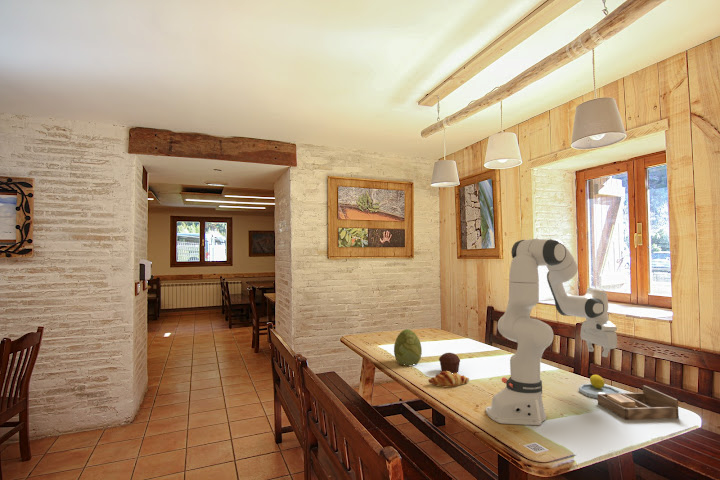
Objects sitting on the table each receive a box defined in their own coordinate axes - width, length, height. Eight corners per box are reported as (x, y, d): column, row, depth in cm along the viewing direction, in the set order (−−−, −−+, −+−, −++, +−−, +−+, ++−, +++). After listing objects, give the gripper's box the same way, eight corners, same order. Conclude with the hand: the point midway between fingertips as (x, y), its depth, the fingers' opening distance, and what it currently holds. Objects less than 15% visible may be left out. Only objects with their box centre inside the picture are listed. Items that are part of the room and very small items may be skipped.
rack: (625, 419, 145) (625, 401, 145) (597, 403, 161) (597, 386, 161) (678, 418, 145) (677, 399, 146) (645, 401, 161) (644, 385, 162)
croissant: (466, 387, 192) (463, 371, 195) (474, 384, 183) (471, 367, 187) (426, 390, 188) (424, 373, 192) (433, 386, 179) (430, 369, 183)
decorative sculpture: (393, 367, 217) (393, 332, 217) (394, 359, 233) (393, 326, 234) (422, 367, 215) (421, 332, 215) (421, 359, 231) (420, 326, 232)
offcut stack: (623, 417, 147) (623, 403, 148) (606, 407, 156) (606, 394, 157) (639, 416, 148) (638, 402, 148) (621, 407, 157) (620, 393, 157)
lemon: (595, 392, 174) (589, 383, 182) (608, 390, 172) (602, 381, 180) (591, 381, 174) (586, 373, 181) (605, 379, 172) (598, 370, 180)
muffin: (449, 367, 214) (449, 349, 215) (464, 372, 205) (464, 353, 205) (434, 371, 208) (434, 353, 208) (449, 376, 199) (449, 357, 199)
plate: (594, 400, 164) (594, 396, 164) (572, 387, 180) (572, 384, 180) (630, 399, 164) (630, 395, 164) (604, 386, 180) (604, 383, 180)
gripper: (576, 319, 183) (577, 348, 183) (605, 327, 163) (606, 360, 162) (589, 319, 184) (589, 348, 183) (619, 327, 163) (620, 360, 163)
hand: (597, 354), depth 173 cm, fingers open, 8 cm apart
